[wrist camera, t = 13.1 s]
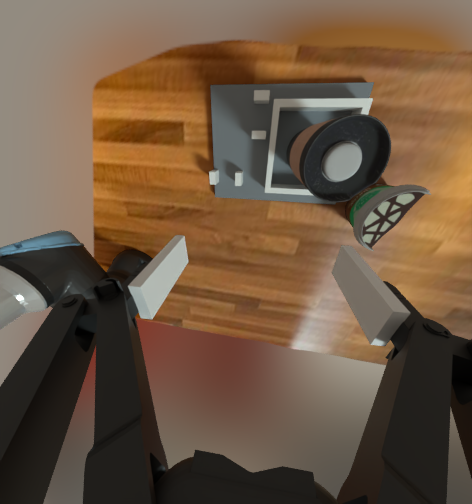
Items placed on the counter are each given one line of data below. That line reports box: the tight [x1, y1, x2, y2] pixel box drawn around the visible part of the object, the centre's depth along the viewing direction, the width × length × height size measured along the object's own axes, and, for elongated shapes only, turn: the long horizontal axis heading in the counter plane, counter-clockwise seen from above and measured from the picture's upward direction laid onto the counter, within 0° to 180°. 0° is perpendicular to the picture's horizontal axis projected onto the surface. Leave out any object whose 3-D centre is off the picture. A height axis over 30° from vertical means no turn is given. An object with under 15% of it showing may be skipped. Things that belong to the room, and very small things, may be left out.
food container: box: [345, 184, 431, 251], centre depth 34 cm, size 12×6×10 cm, turn 159°
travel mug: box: [286, 114, 391, 202], centre depth 25 cm, size 8×8×20 cm
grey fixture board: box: [210, 82, 374, 204], centre depth 35 cm, size 26×19×2 cm
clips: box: [209, 90, 270, 186], centre depth 33 cm, size 10×14×3 cm
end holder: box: [265, 98, 373, 196], centre depth 32 cm, size 14×14×4 cm
